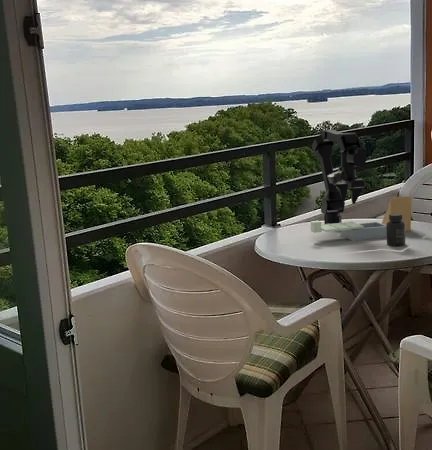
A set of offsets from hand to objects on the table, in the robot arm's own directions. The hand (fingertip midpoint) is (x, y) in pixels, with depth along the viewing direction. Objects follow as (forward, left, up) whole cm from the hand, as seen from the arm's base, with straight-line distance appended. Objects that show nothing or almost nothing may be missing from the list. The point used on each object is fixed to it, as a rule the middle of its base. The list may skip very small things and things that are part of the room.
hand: (348, 202), depth 263 cm
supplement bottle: (+25, -14, -13) cm, 32 cm away
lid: (+1, -15, -8) cm, 17 cm away
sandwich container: (+14, +15, -13) cm, 25 cm away
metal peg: (+10, -2, -12) cm, 16 cm away
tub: (+9, -5, -13) cm, 17 cm away
